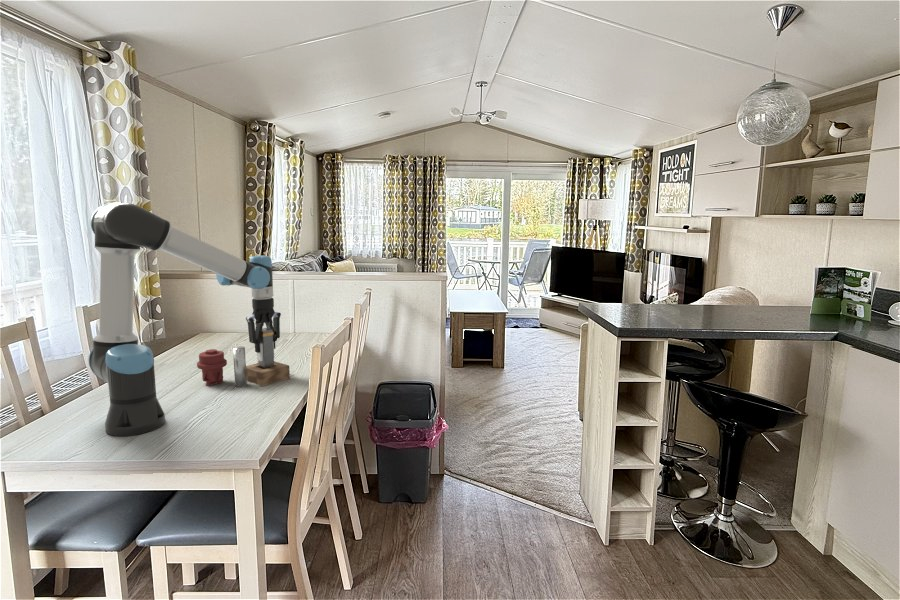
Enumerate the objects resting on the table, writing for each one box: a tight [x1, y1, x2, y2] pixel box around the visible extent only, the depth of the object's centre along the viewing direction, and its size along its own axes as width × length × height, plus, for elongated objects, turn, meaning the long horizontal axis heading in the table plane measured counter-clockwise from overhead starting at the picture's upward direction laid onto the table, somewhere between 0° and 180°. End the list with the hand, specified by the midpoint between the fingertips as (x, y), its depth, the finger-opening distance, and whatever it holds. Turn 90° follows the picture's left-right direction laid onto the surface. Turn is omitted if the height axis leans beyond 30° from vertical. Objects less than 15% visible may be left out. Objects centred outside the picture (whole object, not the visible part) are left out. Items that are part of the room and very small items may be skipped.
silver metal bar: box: [232, 345, 248, 388], centre depth 193 cm, size 4×4×14 cm
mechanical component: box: [196, 348, 228, 386], centre depth 195 cm, size 12×10×10 cm
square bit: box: [257, 327, 275, 368], centre depth 199 cm, size 4×4×14 cm
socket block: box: [246, 360, 291, 387], centre depth 201 cm, size 12×12×5 cm
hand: (265, 359), depth 200 cm, fingers closed on square bit, 4 cm apart
